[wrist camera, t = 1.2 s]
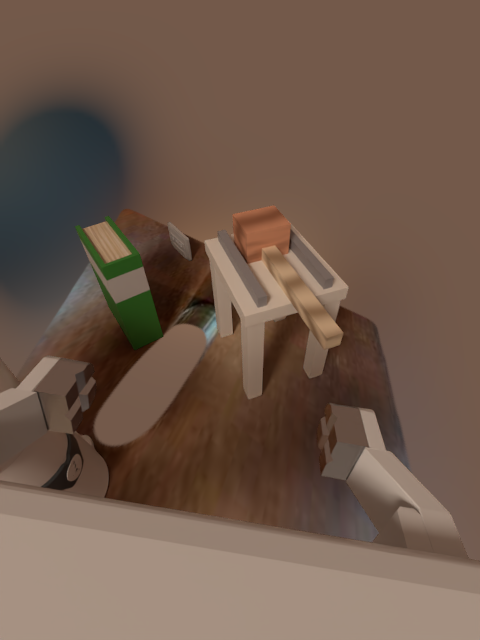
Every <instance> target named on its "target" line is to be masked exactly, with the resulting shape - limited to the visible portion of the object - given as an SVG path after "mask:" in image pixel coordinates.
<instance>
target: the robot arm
mask: <svg viewBox="0 0 480 640" xmlns="http://www.w3.org/2000/svg"><path fill="white" fill-rule="evenodd" d="M94 372H95V371H94V366H93V364H91V363H87V362H81V361H76V360H71V359H66V358H59V357H54V356H49V355H48V356H46V357H44V358H43V359H42V360H41V361H40V362H39V363H38V364H37V366H36V367H35V368H34V369H33V370H32V371H31V372H30V373H29V375H28V376H27V377H26V378H25V379H24V380H23V381H22V382H21V383H20V382H19V381H18V379H17V378H16V377H15V376H14V374H13V373H12V372H11V371H10V370H9V368H8V367H7V366H6V364H5V363H4V362H3V361H2V359H1V358H0V640H480V561H479V560H473V559H469V558H468V555H467V553H466V551H465V548H464V546H463V543H462V541H461V538H460V536H459V534H458V531H457V528H456V526H455V524H454V521H453V519H452V516H451V514H450V513H449V512H448V511H447V510H446V509H445V508H444V507H443V506H442V504H441V503H439V501H438V500H437V499H436V498H435V497H434V496H433V495H432V494H431V493H430V492H429V491H428V490H427V489H426V488H425V487H424V486H423V485H422V484H421V483H420V481H419V480H418V479H416V477H415V476H414V475H413V474H412V473H411V472H410V471H409V470H408V469H407V468H406V467H405V466H404V465H403V464H402V463H401V462H400V461H399V460H398V459H397V457H396V456H395V455H394V454H393V453H392V452H391V451H386V448H385V445H384V441H383V438H382V435H381V432H380V428H379V425H378V422H377V419H376V415H375V412H374V411H373V410H371V409H365V408H359V407H352V406H346V405H340V404H333V403H328V404H327V405H326V407H325V410H324V412H325V417H323V418H321V419H320V422H319V425H318V430H317V445H318V447H319V448H320V450H321V451H322V452H321V454H320V456H319V463H320V471H321V476H325V477H330V478H336V479H341V480H346V483H347V484H348V486H349V487H350V489H351V490H352V492H353V494H354V495H355V497H356V498H357V500H358V501H359V503H360V504H361V506H362V507H363V509H364V510H365V512H366V513H367V515H368V517H369V518H370V520H371V521H372V523H373V524H374V526H375V527H376V529H377V530H378V532H379V534H378V535H377V537H376V538H375V539H374V540H373V542H372V543H371V542H365V541H359V540H353V539H347V538H341V537H336V536H330V535H324V534H318V533H312V532H306V531H300V530H294V529H288V528H282V527H276V526H270V525H264V524H258V523H252V522H246V521H240V520H234V519H228V518H222V517H216V516H210V515H204V514H198V513H192V512H187V511H181V510H175V509H169V508H163V507H157V506H151V505H145V504H139V503H133V502H127V501H121V500H115V499H109V498H104V497H105V494H106V491H107V487H108V481H109V473H108V468H107V465H106V463H105V461H104V459H103V458H102V457H101V456H100V455H99V454H98V453H97V451H96V450H95V448H94V444H93V441H92V439H91V438H90V437H89V436H88V435H79V434H78V433H77V432H76V429H77V428H78V426H79V424H80V423H81V421H82V419H83V414H82V412H83V411H85V410H87V409H88V408H90V406H91V404H92V403H93V401H94V398H95V394H96V387H97V386H96V381H95V380H94V379H93V378H92V375H93V373H94Z"/></svg>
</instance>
